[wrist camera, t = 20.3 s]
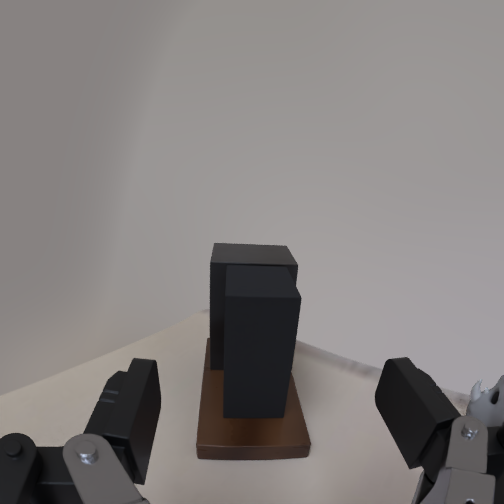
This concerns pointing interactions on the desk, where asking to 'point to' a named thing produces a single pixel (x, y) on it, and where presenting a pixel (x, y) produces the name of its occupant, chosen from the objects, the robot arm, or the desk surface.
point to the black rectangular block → (258, 340)
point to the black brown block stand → (211, 405)
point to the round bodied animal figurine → (487, 404)
